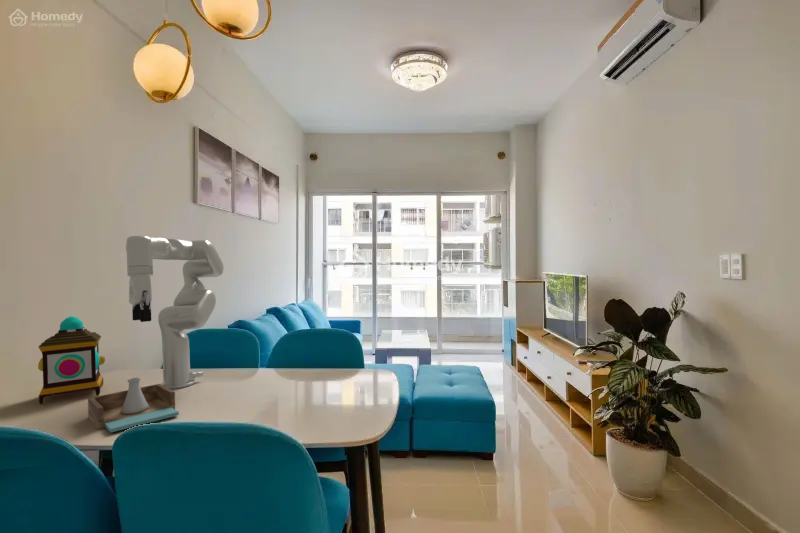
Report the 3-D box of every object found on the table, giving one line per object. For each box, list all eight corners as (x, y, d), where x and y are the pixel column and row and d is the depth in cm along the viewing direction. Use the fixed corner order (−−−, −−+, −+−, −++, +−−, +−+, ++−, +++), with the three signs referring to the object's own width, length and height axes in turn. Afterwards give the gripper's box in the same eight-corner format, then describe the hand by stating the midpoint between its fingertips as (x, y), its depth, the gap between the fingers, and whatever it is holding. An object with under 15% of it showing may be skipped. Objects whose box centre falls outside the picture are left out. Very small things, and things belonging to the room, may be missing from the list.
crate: (160, 400, 141) (159, 383, 141) (175, 410, 130) (174, 391, 130) (88, 417, 127) (87, 398, 127) (98, 429, 116) (98, 408, 116)
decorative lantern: (103, 396, 151) (101, 315, 151) (33, 407, 140) (30, 320, 140) (107, 384, 168) (105, 312, 168) (44, 394, 157) (42, 316, 157)
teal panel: (170, 407, 129) (178, 411, 123) (170, 410, 129) (178, 414, 123) (104, 423, 116) (110, 428, 111) (104, 426, 116) (110, 432, 111)
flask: (134, 415, 122) (133, 382, 122) (115, 414, 124) (114, 381, 124) (154, 407, 129) (153, 376, 129) (135, 406, 131) (134, 375, 131)
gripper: (121, 272, 144) (123, 320, 144) (134, 271, 132) (135, 323, 132) (145, 272, 150) (147, 318, 149) (159, 270, 138) (161, 320, 137)
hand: (141, 320), depth 141 cm, fingers open, 9 cm apart
